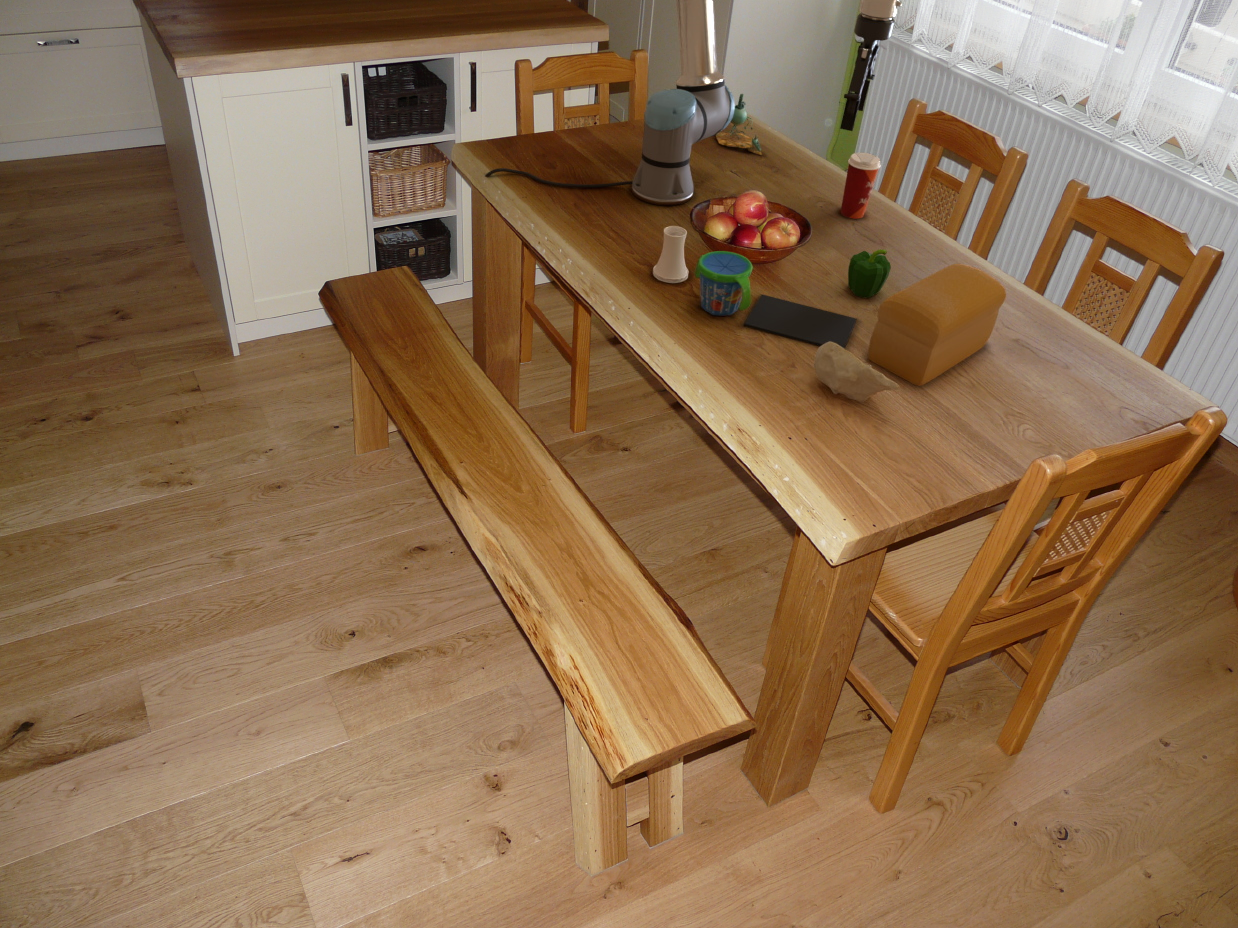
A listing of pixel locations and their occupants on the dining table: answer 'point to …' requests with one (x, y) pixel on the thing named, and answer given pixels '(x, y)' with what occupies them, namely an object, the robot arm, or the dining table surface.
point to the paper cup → (859, 184)
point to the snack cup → (724, 282)
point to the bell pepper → (868, 273)
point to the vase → (672, 257)
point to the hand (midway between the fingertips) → (851, 119)
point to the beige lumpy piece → (849, 373)
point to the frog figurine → (739, 138)
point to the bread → (936, 323)
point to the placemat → (800, 322)
